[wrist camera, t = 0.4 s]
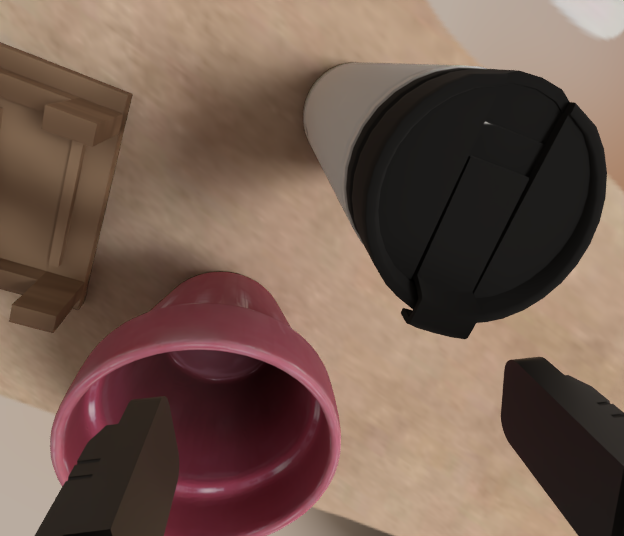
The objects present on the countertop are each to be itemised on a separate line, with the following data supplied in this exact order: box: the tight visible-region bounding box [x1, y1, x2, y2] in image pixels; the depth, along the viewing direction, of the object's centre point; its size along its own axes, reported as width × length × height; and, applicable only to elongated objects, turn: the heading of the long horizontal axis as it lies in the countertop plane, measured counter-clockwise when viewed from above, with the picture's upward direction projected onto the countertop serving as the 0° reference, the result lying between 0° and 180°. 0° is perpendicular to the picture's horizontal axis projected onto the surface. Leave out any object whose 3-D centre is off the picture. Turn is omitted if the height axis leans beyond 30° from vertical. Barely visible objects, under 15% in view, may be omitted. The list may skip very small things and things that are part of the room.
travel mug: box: [303, 62, 607, 339], centre depth 19 cm, size 6×7×20 cm
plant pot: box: [50, 272, 341, 536], centre depth 28 cm, size 14×14×13 cm
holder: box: [0, 42, 132, 333], centre depth 26 cm, size 15×8×6 cm, turn 158°
